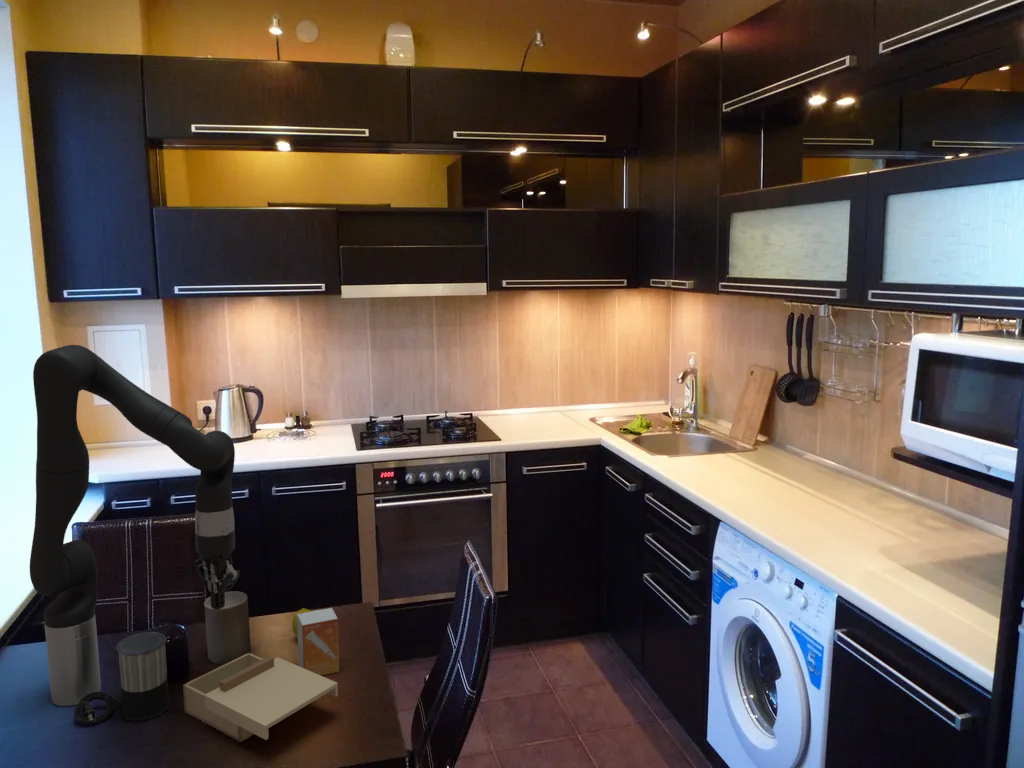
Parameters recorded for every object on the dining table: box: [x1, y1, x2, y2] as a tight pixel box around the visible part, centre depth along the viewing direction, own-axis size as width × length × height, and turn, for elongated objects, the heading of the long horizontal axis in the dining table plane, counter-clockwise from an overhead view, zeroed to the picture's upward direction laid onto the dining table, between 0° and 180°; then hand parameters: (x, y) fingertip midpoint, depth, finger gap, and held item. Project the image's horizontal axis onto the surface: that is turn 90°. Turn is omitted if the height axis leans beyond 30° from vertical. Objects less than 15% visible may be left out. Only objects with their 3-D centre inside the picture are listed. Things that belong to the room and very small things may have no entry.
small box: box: [297, 607, 340, 676], centre depth 171 cm, size 8×6×13 cm
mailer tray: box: [182, 652, 263, 743], centre depth 156 cm, size 18×16×6 cm
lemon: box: [291, 607, 312, 637], centre depth 186 cm, size 6×6×8 cm
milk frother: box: [73, 631, 171, 725], centre depth 154 cm, size 14×16×15 cm
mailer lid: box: [204, 655, 339, 741], centre depth 151 cm, size 18×18×5 cm
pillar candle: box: [203, 590, 252, 665], centre depth 178 cm, size 10×10×15 cm
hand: (218, 607), depth 158 cm, fingers closed
